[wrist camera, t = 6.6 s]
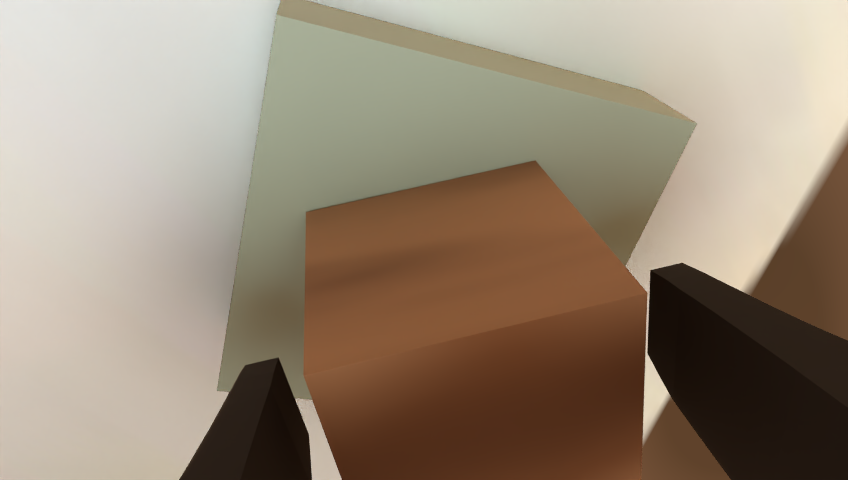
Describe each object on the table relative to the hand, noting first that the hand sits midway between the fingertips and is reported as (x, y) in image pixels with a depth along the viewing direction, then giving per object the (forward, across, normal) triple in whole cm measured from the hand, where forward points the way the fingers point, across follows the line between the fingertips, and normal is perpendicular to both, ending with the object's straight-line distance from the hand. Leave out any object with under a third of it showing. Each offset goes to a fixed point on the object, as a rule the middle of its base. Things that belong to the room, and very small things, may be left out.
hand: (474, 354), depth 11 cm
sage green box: (+6, 0, 0) cm, 6 cm away
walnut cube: (+3, 0, 0) cm, 3 cm away
